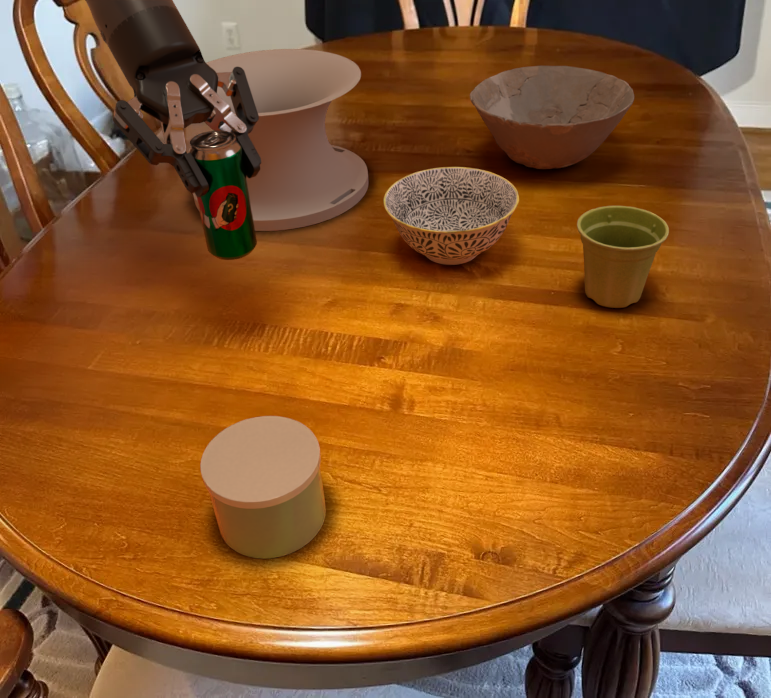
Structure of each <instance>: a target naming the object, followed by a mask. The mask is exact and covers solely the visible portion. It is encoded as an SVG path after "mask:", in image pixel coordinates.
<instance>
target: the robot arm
mask: <svg viewBox="0 0 771 698" xmlns="http://www.w3.org/2000/svg"><path fill="white" fill-rule="evenodd" d="M84 1H85V3H86V5H87V6H88V9H89V11H90V13H91V16H92V19H93V21H94V23H95V25H96V28H97V29H98V31H99V34H100V37H101V39H102V41H103V42H104V43H105V44H106V45H107V47H108V50H109V52H110V53H111V55H112V57H113V58H114V60H115V61H116V63H117V65H118V67H119V69H120V70H121V72H122V75H123V76H124V78H125V80H126V81H127V83H128V85H129V86H130V88H132V91H133V97H132V98H130V99H129V100H127V101H126V100H125V99H124V100H123V99H120V100H118V101H117V102H116V103H115V108H114V111H113V115H112V121H113V123H114V124H115V125H116V127H118V129H119V130H120V131H121V132H122V133H123V134H124V136H125V137H126V138H127V139H128V140H129V142H130V143H131V144H132V145H133V146H134V147H135V148H136V149H137V151H138V152H139V153H140V154H141V155H142V156H143V158H144V159H145V160H146V161H147V162H148V163H149V164H150V165H152V166H157V165H159V164H169V165H171V166H173V168H174V169H175V171H176V173H177V175H178V177H179V178H180V181H181V182H182V184H183V185H184V188H185V189H186V190H187V192H189V193H190V194H192V195H193V193H195V194H196V196H197V197H198V198H199V197H202V196H204V195H206V193H207V192H208V190H209V185H208V183H207V181H206V179H205V177H204V175H203V174H202V172H201V170H200V168H199V167H198V165H197V163H196V161H195V159H194V158H193V156H192V154H191V152H190V153H188V151H187V144H186V139H185V129H187V127H190V125H194V124H195V125H196V124H202V123H204V124H206V125H207V126H208V127H209V128H210V129H211V131H228V132H231V133H233V134H234V135H235V136H236V140H237V142H238V143H239V144H240V145H241V147H242V153H243V159H244V165H245V171H246V176H247V177H248V178H252V177H255V176H256V175H257V174H258V172H259V171H260V164H261V157H260V156H259V154H258V153H257V150H256V149H255V147H254V145H253V143H252V141H251V140H250V138H249V136H248V134H249V133H251V131H252V130H253V127H254V126H255V124H256V123H257V121H258V120H259V115H258V112H257V109H256V106H255V103H254V100H253V96H252V93H251V90H250V87H249V84H248V81H247V78H246V75H245V71H244V70H243V69H242V68H241V67H234V69H233V71H232V72H223V73H216V71H215V70H214V69H213V68H211V67H210V66H209V65H208V64H207V62H206V60H205V59H204V56H203V53H202V50H201V49H200V47H199V44H198V43H197V41H196V40H195V37H194V36H193V34H192V32H191V30H190V28H189V27H188V25H187V23H186V22H185V20H184V18H183V16H182V14H181V12H180V11H179V9H178V8H177V6H176V4H175V2H174V1H173V0H84ZM218 86H219V87H221V88H222V89H223V90H224V92H225V94H226V96H230V97H231V100H232V104H233V107H234V110H235V113H236V115H235V114H234V113H233V112H232V111H231V108H230V106H229V105H228V104H227V103H226V102H225V101H224V100H223V99H222V98H221V97H220V96H219V95H218V94H217V88H218ZM213 110H214V111H215V113H216V114H214V113H213ZM143 112H144V113H145V114H147V115H149V116H150V117H152V118H154V119H156V120H157V121H159V122H160V125H161V132H162V138H163V142H162V140H161V139H160V138H159V137H158V136H157V134H156V133H155V132H154V131H153V130H152V129H151V128H150V126H149V125H148V124H147V123H146V122H145V121H144V119H143V118H144V113H143Z"/></svg>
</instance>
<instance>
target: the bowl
mask: <svg viewBox="0 0 771 698" xmlns="http://www.w3.org/2000/svg"><path fill="white" fill-rule="evenodd" d="M382 202H383V207H384V209H385V211H386V213H387V215H388V216H389V217H390V218H391V220H392V221H393V224H394V226H395V228H396V230H397V232H398V233H399V235H400V237H401V239H403V240H404V242H405V243H406V244H407V245H408V246H409V247H410V248H411V249H413V250H414V251H415V252H417V253H419V254H421V255H423V256H425V257H426V258H427V259H428V260H429V261H431V262H433V263H436V264H439V265H445V266H455V265H462V264H466V263H468V262H471V261H473V260H474V259H475V258H476V257H477V256H478V255H480V254H483V253H484V252H486V251H487V250H489V249H490V248H492V247H493V246H495V244H496V243H497V242H498V241H499V240H500V238H501V236H502V235H503V234H504V231H506V228H507V226H508V224H509V222H510V219H511V217H512V215H513V214H514V212H515V211H516V209H517V208H518V205H519V202H520V194H519V191H518V189H517V188H516V186H515V185H514V183H511V181H509V180H508V179H506V178H504V177H503V176H501V175H499V174H496V173H494V172H492V171H488V170H484V169H479V168H474V167H465V166H443V167H434V168H428V169H423V170H420V171H416V172H413V173H410V174H407V175H406V176H403V177H401V178H400V179H398V180H397V181H395V182H393V184H391V185H390V187H389V188H387V189H386V192H385V194H384V195H383V201H382Z"/></svg>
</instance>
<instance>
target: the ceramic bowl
mask: <svg viewBox="0 0 771 698" xmlns="http://www.w3.org/2000/svg"><path fill="white" fill-rule="evenodd" d="M469 100H470V102H471V104H472V105H473V106H474V107H475V109H476V111H477V113H478V114H479V117H480V118H481V120H482V121H483V122H484V124H485V126H486V127H487V129H488V130H489V132H490V134H491V136H492V137H493V139H494V141H495V143H496V145H497V146H498V147H499V148H500V149H501V150H502V151H503V152H504V153H505V154H506V155H507V157H509V159H510V160H511V161H513V162H514V163H516V164H519V165H524V166H525V167H526V168H527V167H528V168H533V169H537V170H552V169H561V168H566V167H570V166H572V165H576V164H577V163H579V162H581V161H584V160H585V159H587V158H589V156H590V155H592V154H593V153H594V152H595V151H596V150H597V149H598V148H599V147H600V146H601V145H602V144H603V143H604V142H605V141H606V140H607V138H608V137H609V136H610V135H611V133H613V131H614V130H615V128H616V127H617V126H618V125H619V124H620V122H621V121H622V120H623V118H624V116H625V115H626V114H627V112H628V111H629V109H630V108H631V106H632V105H633V104H634V101H635V94H634V89H633V88H632V87H631V86H630V85H629V83H628V82H627V81H626V80H624V79H621V78H618V77H617V76H615V75H612V74H607V73H605V72H603V71H598V70H594V69H589V68H583V67H577V66H570V65H569V66H568V65H533V66H522V67H516V68H512V69H508V70H504V71H501V72H499V73H497V74H495V75H492V76H489V77H488V78H485V79H483V80H482V81H481V82H480V83H478V84H477V85H476V86H475V87H474V88H473V89H472V90H471V92H470V93H469Z"/></svg>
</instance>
